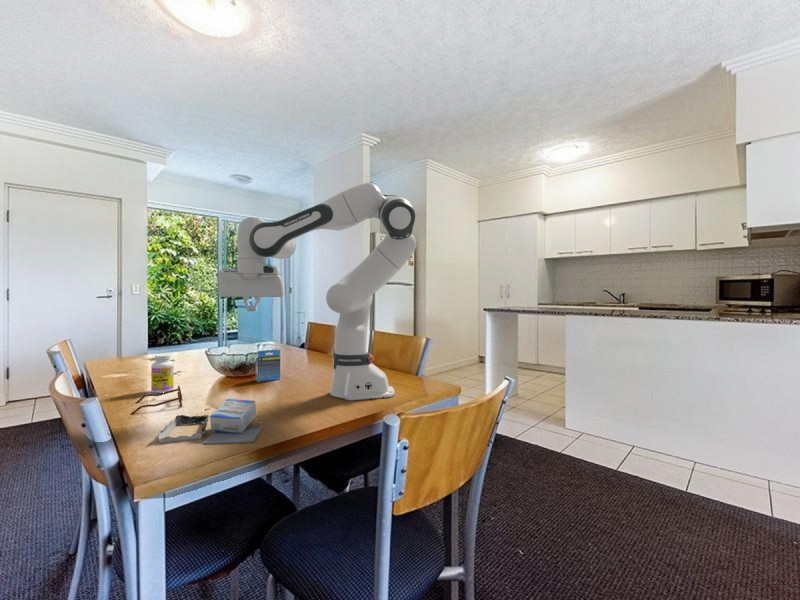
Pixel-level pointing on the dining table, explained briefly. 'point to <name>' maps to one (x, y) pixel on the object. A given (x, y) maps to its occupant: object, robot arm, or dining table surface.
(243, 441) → the tip mat
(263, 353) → the label tape box
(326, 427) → the dining table surface
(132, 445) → the dining table surface
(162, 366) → the supplement bottle
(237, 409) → the medicine box
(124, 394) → the dining table surface
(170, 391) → the glasses
